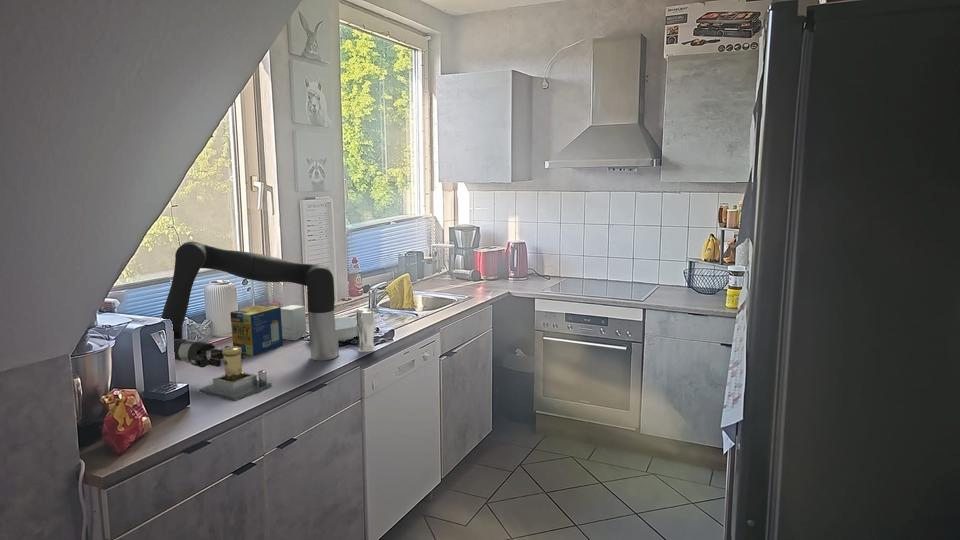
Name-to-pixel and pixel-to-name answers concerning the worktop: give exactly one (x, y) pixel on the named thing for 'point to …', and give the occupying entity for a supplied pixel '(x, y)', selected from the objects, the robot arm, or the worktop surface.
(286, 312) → the supplement box
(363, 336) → the beer glass
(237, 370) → the gold metal cylinder
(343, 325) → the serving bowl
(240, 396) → the socket plate
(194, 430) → the worktop surface
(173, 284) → the robot arm
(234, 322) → the protein box
